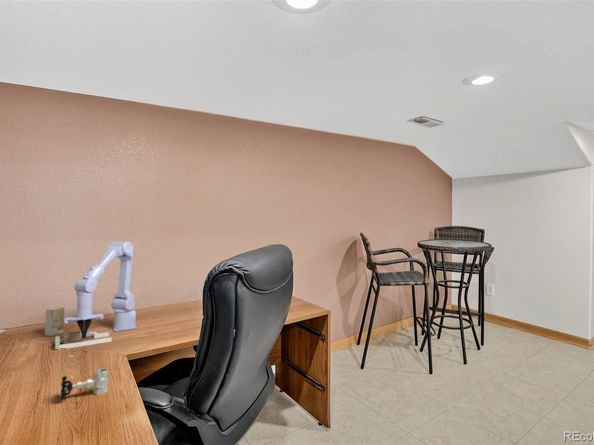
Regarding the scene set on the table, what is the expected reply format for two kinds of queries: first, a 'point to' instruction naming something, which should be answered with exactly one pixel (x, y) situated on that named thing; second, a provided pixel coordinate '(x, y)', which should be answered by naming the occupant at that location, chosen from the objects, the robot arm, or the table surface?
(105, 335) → the lane
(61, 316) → the skincare box
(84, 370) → the table surface
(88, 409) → the table surface
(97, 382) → the valve
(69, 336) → the block
